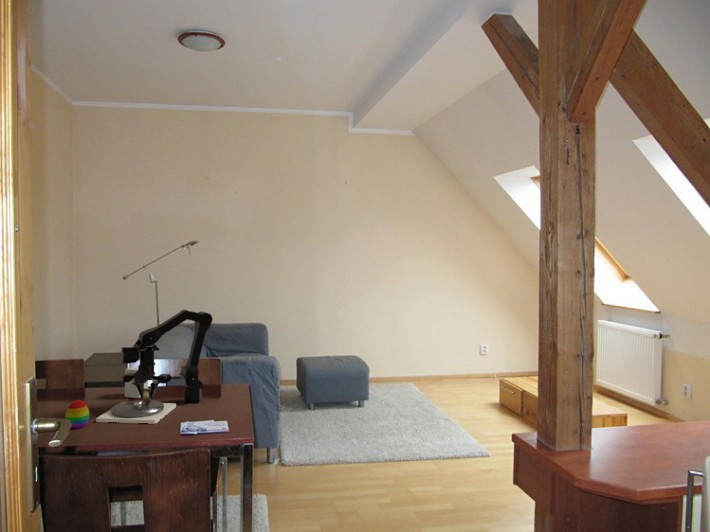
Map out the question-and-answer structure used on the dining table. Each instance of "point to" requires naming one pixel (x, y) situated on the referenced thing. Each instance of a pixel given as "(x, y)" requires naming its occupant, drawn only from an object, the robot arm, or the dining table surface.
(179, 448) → the dining table surface
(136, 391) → the supplement box
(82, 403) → the decorative egg
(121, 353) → the robot arm
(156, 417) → the base plate
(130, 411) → the handwheel
